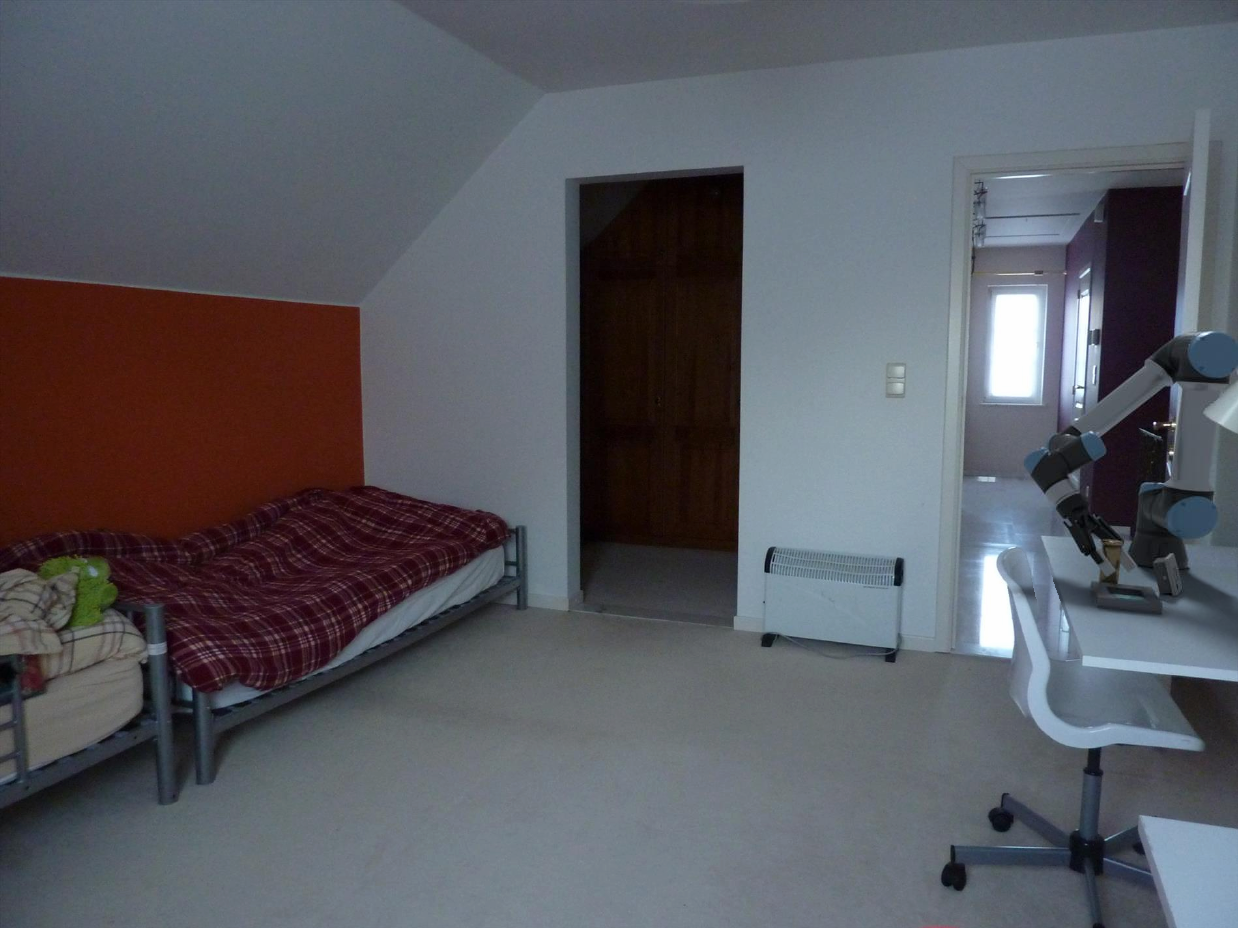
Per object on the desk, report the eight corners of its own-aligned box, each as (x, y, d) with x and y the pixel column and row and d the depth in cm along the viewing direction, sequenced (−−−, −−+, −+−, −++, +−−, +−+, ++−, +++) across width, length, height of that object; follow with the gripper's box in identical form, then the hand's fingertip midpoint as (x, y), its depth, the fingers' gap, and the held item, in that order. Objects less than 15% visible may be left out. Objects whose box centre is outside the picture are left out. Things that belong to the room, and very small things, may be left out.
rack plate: (1090, 590, 227) (1091, 580, 227) (1150, 597, 222) (1151, 586, 222) (1097, 607, 212) (1098, 595, 212) (1161, 614, 208) (1162, 602, 207)
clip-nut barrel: (1106, 580, 238) (1110, 538, 237) (1124, 585, 234) (1128, 543, 232) (1092, 581, 236) (1096, 540, 235) (1110, 586, 231) (1114, 544, 230)
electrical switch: (1176, 597, 223) (1176, 559, 222) (1152, 595, 226) (1151, 558, 226) (1182, 590, 230) (1182, 553, 230) (1158, 588, 234) (1158, 552, 233)
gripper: (1080, 505, 251) (1133, 574, 240) (1033, 511, 239) (1086, 584, 228) (1101, 488, 246) (1156, 558, 235) (1053, 494, 234) (1109, 568, 223)
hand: (1122, 571), depth 232 cm, fingers open, 9 cm apart
